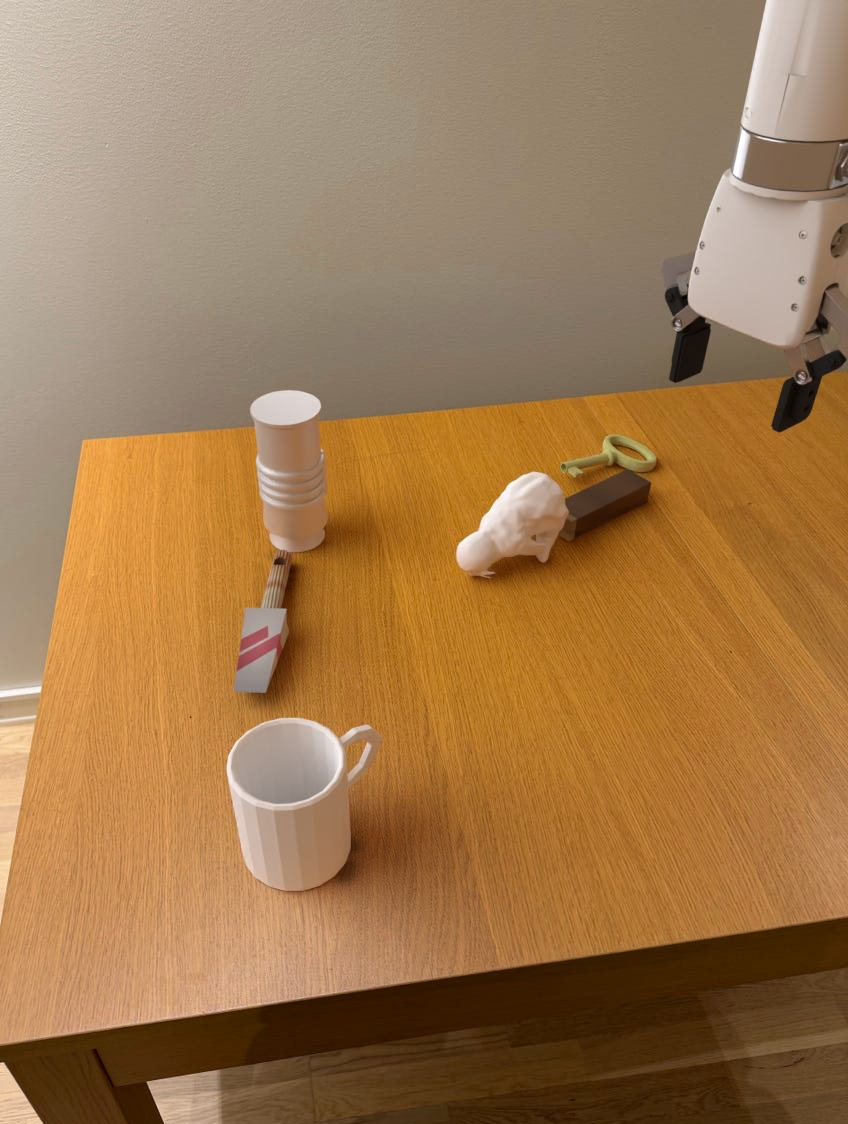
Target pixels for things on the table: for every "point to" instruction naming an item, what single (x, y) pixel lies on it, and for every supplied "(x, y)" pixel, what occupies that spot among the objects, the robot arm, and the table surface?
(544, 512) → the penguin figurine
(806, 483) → the table surface
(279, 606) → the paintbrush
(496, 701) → the table surface
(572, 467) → the key
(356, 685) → the table surface
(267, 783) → the mug
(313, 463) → the white ribbed cylinder
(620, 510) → the walnut bar
